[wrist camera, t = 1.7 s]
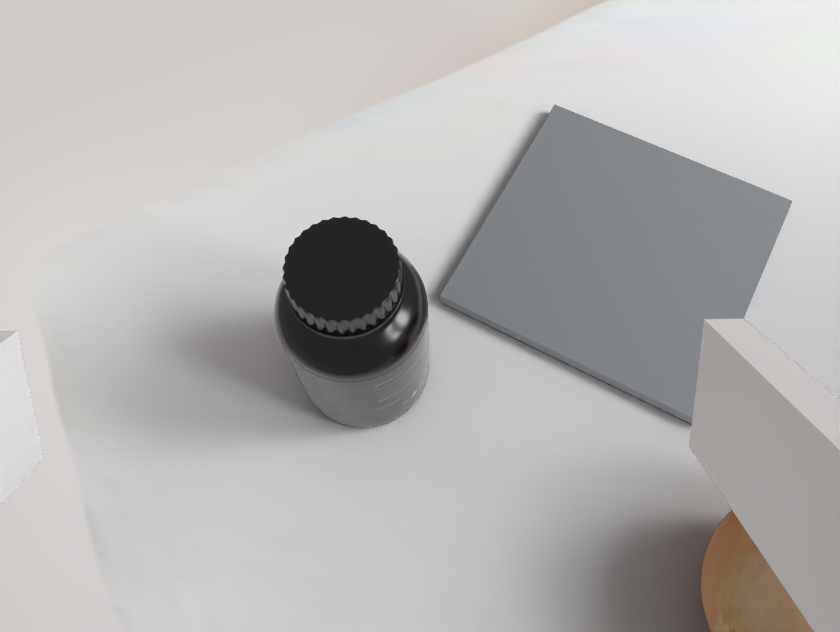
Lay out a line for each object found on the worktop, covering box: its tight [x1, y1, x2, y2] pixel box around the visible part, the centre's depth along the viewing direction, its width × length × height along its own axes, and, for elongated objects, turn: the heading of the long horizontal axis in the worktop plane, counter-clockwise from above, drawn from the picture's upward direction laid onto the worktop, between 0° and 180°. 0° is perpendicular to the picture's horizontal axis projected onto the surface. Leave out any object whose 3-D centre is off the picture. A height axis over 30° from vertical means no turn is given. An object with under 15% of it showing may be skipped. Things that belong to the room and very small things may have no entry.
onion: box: [701, 510, 814, 632], centre depth 31 cm, size 10×10×10 cm
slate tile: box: [440, 105, 792, 424], centre depth 43 cm, size 15×15×1 cm
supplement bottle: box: [274, 217, 429, 428], centre depth 36 cm, size 7×7×12 cm
